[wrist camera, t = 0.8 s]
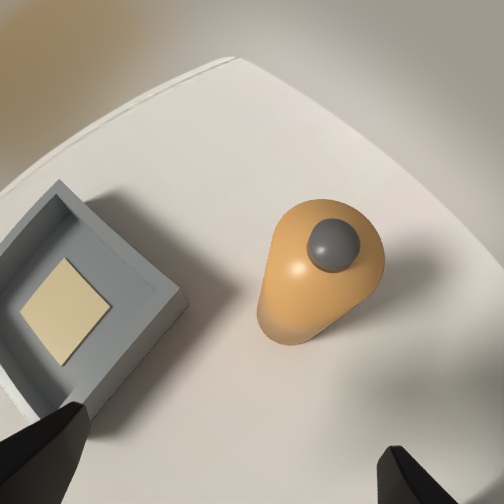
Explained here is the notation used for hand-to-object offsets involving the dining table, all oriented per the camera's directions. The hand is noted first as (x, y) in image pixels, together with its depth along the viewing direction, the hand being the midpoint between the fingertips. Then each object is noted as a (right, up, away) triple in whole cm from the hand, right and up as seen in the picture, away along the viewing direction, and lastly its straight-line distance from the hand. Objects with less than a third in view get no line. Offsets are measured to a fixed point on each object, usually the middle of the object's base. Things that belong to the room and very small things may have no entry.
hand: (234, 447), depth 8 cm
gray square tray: (-14, +1, +14) cm, 20 cm away
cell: (+3, +1, +15) cm, 16 cm away
